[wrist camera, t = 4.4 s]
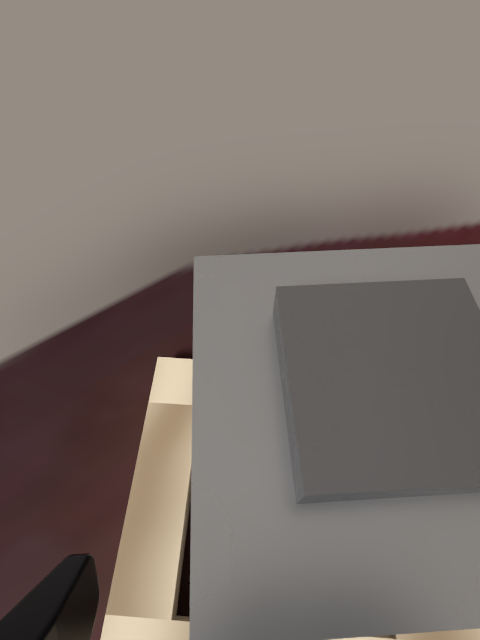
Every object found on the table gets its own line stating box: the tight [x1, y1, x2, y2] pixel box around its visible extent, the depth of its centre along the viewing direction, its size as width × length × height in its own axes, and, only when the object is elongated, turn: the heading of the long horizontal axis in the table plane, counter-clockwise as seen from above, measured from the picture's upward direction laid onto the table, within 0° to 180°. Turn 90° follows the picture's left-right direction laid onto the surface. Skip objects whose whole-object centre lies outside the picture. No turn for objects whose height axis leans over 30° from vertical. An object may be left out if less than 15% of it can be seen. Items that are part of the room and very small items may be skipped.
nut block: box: [189, 244, 480, 640], centre depth 10 cm, size 5×5×14 cm
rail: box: [100, 357, 480, 640], centre depth 15 cm, size 24×12×1 cm, turn 86°
